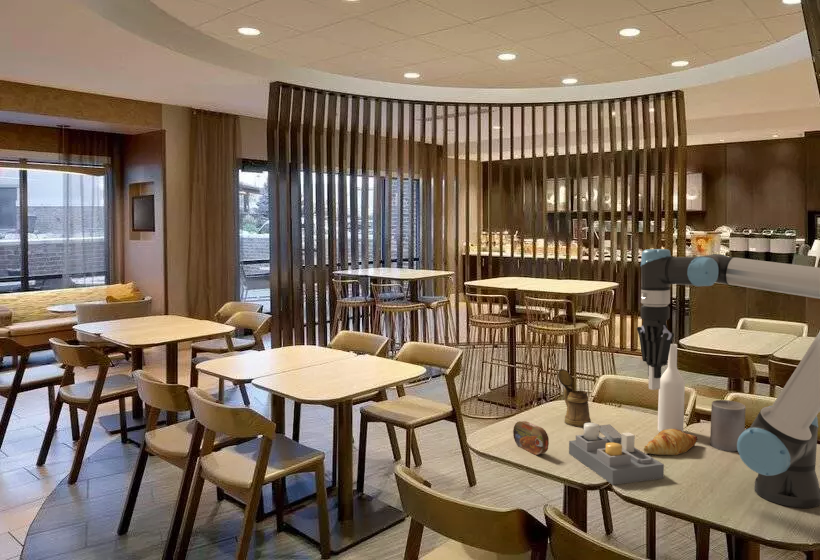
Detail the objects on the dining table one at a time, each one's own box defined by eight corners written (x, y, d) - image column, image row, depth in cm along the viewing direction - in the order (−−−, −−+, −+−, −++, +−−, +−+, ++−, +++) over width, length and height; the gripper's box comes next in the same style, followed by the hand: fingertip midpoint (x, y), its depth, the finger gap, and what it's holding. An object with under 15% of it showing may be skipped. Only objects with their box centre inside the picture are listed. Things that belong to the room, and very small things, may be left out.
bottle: (679, 428, 218) (682, 342, 215) (686, 435, 210) (689, 347, 207) (655, 427, 219) (657, 341, 216) (660, 434, 211) (663, 346, 208)
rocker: (622, 442, 190) (623, 437, 190) (612, 443, 190) (613, 438, 189) (609, 429, 198) (610, 424, 197) (599, 430, 197) (599, 425, 196)
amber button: (624, 460, 176) (625, 447, 176) (610, 462, 175) (611, 448, 175) (615, 455, 181) (616, 441, 180) (602, 456, 180) (602, 443, 179)
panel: (663, 478, 176) (664, 455, 175) (612, 484, 172) (613, 461, 171) (614, 448, 199) (615, 428, 198) (568, 453, 195) (569, 432, 194)
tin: (512, 443, 204) (512, 418, 203) (520, 442, 206) (520, 416, 205) (542, 459, 191) (542, 432, 190) (550, 457, 192) (550, 430, 191)
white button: (601, 439, 188) (601, 426, 187) (588, 441, 187) (588, 428, 186) (593, 434, 192) (594, 422, 192) (580, 436, 191) (581, 423, 191)
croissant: (651, 469, 191) (661, 451, 187) (630, 445, 199) (639, 426, 194) (701, 456, 200) (712, 438, 196) (679, 433, 207) (689, 416, 203)
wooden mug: (568, 414, 234) (569, 366, 232) (596, 424, 222) (597, 374, 221) (550, 418, 230) (551, 369, 228) (578, 428, 218) (579, 377, 216)
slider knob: (634, 451, 184) (634, 435, 184) (626, 452, 184) (626, 436, 183) (629, 448, 187) (629, 432, 186) (621, 449, 186) (621, 433, 186)
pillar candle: (712, 438, 207) (714, 394, 205) (746, 444, 201) (747, 398, 200) (707, 448, 199) (709, 402, 197) (742, 454, 193) (744, 406, 192)
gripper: (629, 303, 179) (628, 384, 181) (659, 308, 167) (658, 395, 169) (651, 301, 181) (650, 382, 183) (682, 306, 169) (681, 393, 171)
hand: (654, 388), depth 176 cm, fingers closed
